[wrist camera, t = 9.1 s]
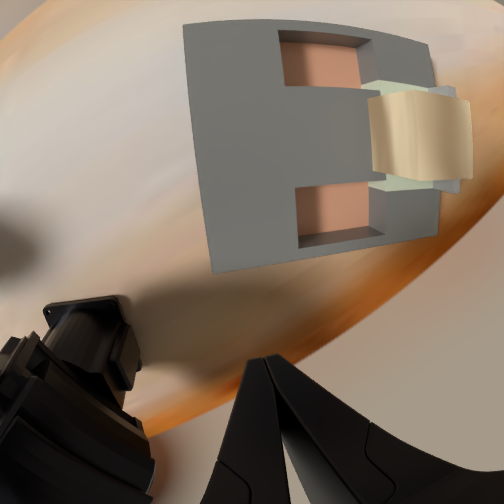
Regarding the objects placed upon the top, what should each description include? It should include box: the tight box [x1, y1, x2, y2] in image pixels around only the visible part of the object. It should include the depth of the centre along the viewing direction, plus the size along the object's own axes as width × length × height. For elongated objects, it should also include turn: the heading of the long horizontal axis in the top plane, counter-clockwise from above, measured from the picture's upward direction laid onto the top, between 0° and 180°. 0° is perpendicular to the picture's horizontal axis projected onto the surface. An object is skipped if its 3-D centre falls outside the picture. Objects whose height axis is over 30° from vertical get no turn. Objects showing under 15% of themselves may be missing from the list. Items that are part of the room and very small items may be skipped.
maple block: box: [367, 90, 473, 181], centre depth 14 cm, size 4×4×4 cm
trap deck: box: [183, 19, 460, 274], centre depth 15 cm, size 16×14×4 cm
